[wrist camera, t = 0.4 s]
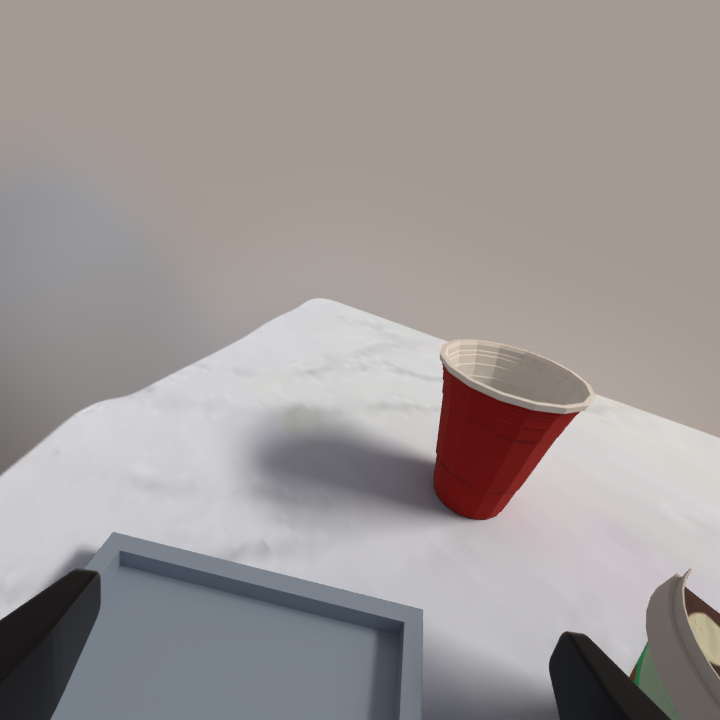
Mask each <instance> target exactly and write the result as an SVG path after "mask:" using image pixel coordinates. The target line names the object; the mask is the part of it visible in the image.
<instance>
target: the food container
mask: <svg viewBox="0 0 720 720" xmlns="http://www.w3.org/2000/svg"><path fill="white" fill-rule="evenodd" d="M691 570H692V569H689V570H688V571H687V572H686V573H685V574H684V576H683V577H681V576H680V575H679V574H676V575H674V576H673V577H671V578H670V579H669V580H667V581H666V582H665V583H663V584H662V585H660V586H659V587H658V588H657V589H656V590H655V592H654V593H653V595H652V596H651V598H650V601H649V604H648V608H647V611H646V630H647V636H648V642H647V644H646V646H645V648H644V650H643V652H642V654H641V656H640V658H639V659H638V661H637V663H636V665H635V667H634V669H633V671H632V673H631V675H630V677H629V678H630V679H631V680H632V681H633V682H634V683H635V684H636V685H637V686H638V687H639V688H640V689H641V690H642V691H643V692H644V693H645V694H646V695H647V696H648V697H649V698H650V699H651V700H652V701H653V702H654V703H655V704H656V705H657V706H658V707H659V708H660V709H661V710H662V711H663V712H664V713H665V714H666V715H667V716H668V717H669V718H670V719H671V720H720V614H719V613H718V612H717V611H715V610H714V609H713V608H711V607H710V606H709V605H708V604H706V603H705V602H704V601H702V600H701V599H700V598H699V597H697V596H696V595H695V594H694V593H692V592H691V591H690V590H689V589H687V588H686V587H685V584H686V580H687V578H688V576H689V574H690V572H691Z"/></svg>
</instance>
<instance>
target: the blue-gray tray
mask: <svg viewBox="0 0 720 720" xmlns="http://www.w3.org/2000/svg"><path fill="white" fill-rule="evenodd" d="M84 569H88V570H95V571H98V572H99V573H100V575H101V606H100V611H99V614H98V617H97V619H96V622H95V624H94V626H93V628H92V631H91V633H90V635H89V637H88V639H87V642H86V644H85V646H84V648H83V651H82V653H81V655H80V657H79V660H78V662H77V664H76V666H75V669H74V671H73V673H72V675H71V678H70V680H69V682H68V684H67V686H66V689H65V691H64V693H63V695H62V697H61V700H60V702H59V704H58V706H57V708H56V710H55V712H54V714H53V716H52V718H51V719H50V720H421V719H422V646H423V610H422V609H418V608H414V607H410V606H406V605H402V604H398V603H394V602H390V601H386V600H382V599H378V598H374V597H370V596H366V595H362V594H358V593H354V592H350V591H346V590H342V589H338V588H334V587H330V586H326V585H322V584H318V583H314V582H310V581H306V580H302V579H298V578H294V577H290V576H286V575H282V574H278V573H274V572H270V571H266V570H262V569H258V568H254V567H250V566H246V565H243V564H239V563H235V562H231V561H227V560H223V559H219V558H215V557H211V556H207V555H203V554H199V553H195V552H191V551H187V550H183V549H179V548H175V547H171V546H167V545H163V544H159V543H155V542H151V541H147V540H143V539H139V538H135V537H131V536H127V535H123V534H119V533H115V532H113V533H112V534H111V535H110V537H109V538H108V539H107V541H106V542H105V543H104V544H103V546H102V547H101V548H100V549H99V551H98V552H97V553H96V554H95V556H94V557H93V558H92V559H91V561H90V562H89V563H88V565H87V566H86V567H85V568H84Z"/></svg>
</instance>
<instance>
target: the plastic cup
mask: <svg viewBox="0 0 720 720" xmlns="http://www.w3.org/2000/svg"><path fill="white" fill-rule="evenodd" d="M440 360H441V361H442V365H443V370H444V372H443V380H444V382H443V391H442V392H443V400H442V408H441V416H440V424H439V432H438V440H437V447H436V453H437V457H436V464H435V471H434V478H433V479H434V488H435V491H436V494H437V496H438V497H439V498H440V500H441V501H442V502H443V503H444V504H445V505H446V506H447V507H449V508H450V509H452V510H453V511H455V512H456V513H458V514H460V515H463V516H466V517H468V518H471V519H484V520H486V519H489V518H492V517H495V516H497V514H498V513H499V512H501V511H502V510H503V509H504V507H505V506H506V505H507V504H508V502H509V501H510V499H511V498H512V497H513V495H514V494H515V492H516V491H517V490H519V489H520V487H521V486H522V485H523V483H524V482H525V481H526V480H527V478H528V477H529V475H530V474H531V473H532V471H533V470H534V468H535V467H536V466H537V464H538V463H539V462H540V460H541V459H542V457H543V456H544V455H545V453H546V452H547V451H548V449H549V448H550V446H551V445H552V444H553V442H554V441H555V440H556V438H558V437H559V435H560V434H561V433H562V432H563V431H564V429H565V428H566V426H568V424H569V423H570V422H571V421H572V420H573V418H574V417H575V416H576V415H577V414H579V412H580V411H585V409H586V408H587V407H588V406H589V405H590V403H591V402H592V401H593V400H594V399H595V397H596V396H595V394H594V392H593V390H592V388H591V386H590V385H589V384H588V383H587V382H586V381H584V380H583V379H582V378H581V377H579V376H578V375H577V374H575V372H573V371H571V370H569V369H567V368H565V367H563V366H561V365H560V364H558V363H556V362H554V361H552V360H550V359H547V358H545V357H542V356H539V355H537V354H534V353H532V352H529V351H527V350H523V349H519V348H516V347H512V346H509V345H505V344H501V343H496V342H489V341H483V340H476V339H470V340H454V341H451V342H448V343H445V344H443V346H442V349H441V352H440Z"/></svg>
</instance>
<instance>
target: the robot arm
mask: <svg viewBox="0 0 720 720" xmlns="http://www.w3.org/2000/svg"><path fill="white" fill-rule="evenodd" d="M100 606H101V575H100V573H99V572H98V571H95V570H88V569H75V570H73V571H71V572H70V573H68V574H67V575H66V576H64V577H63V578H61V579H60V580H58V581H57V582H55V583H54V584H52V585H51V586H49V587H48V588H47V589H45V590H44V591H42V592H41V593H39V594H38V595H36V596H35V597H33V598H32V599H30V600H29V601H28V602H26V603H25V604H23V605H22V606H20V607H19V608H17V609H16V610H14V611H13V612H12V613H10V614H9V615H7V616H6V617H4V618H3V619H1V620H0V720H50V719H51V718H52V716H53V714H54V712H55V710H56V708H57V706H58V704H59V702H60V700H61V697H62V695H63V693H64V691H65V689H66V686H67V684H68V682H69V680H70V678H71V675H72V673H73V671H74V669H75V666H76V664H77V662H78V660H79V657H80V655H81V653H82V651H83V648H84V646H85V644H86V642H87V639H88V637H89V635H90V633H91V631H92V628H93V626H94V624H95V622H96V619H97V617H98V614H99V611H100ZM549 672H550V677H551V681H552V686H553V690H554V695H555V699H556V704H557V708H558V713H559V717H560V720H671V719H670V718H669V717H668V716H667V715H666V714H665V713H664V712H663V711H662V710H661V709H660V708H659V707H658V706H657V705H656V704H655V703H654V702H653V701H652V700H651V699H650V698H649V697H648V696H647V695H646V694H645V693H644V692H643V691H642V690H641V689H640V688H639V687H638V686H637V685H636V684H635V683H634V682H633V681H632V680H631V679H630V678H629V677H628V676H627V675H626V674H625V673H624V672H623V671H622V670H621V669H620V668H619V667H618V666H617V665H616V664H615V663H614V662H613V661H612V660H611V659H610V658H609V657H608V656H607V655H606V654H605V653H604V652H603V651H602V650H601V649H600V648H599V647H598V646H597V645H596V644H595V643H594V642H593V641H592V640H591V639H590V638H589V637H588V636H586V635H585V634H582V633H575V632H568V631H567V632H564V633H562V635H561V636H560V638H559V640H558V643H557V645H556V647H555V649H554V651H553V653H552V655H551V658H550V662H549Z"/></svg>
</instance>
